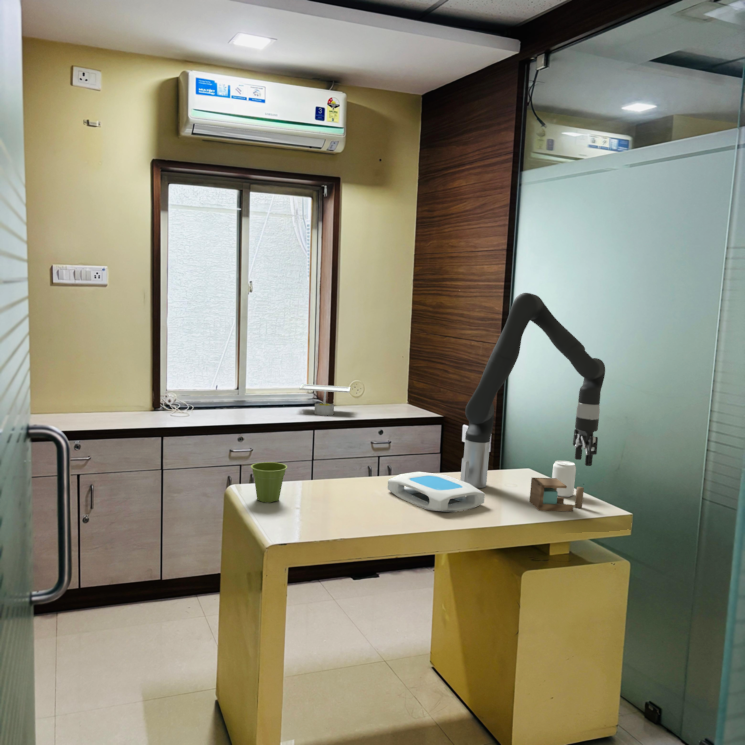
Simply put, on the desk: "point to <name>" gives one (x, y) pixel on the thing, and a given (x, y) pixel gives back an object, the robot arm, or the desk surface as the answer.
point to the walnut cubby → (538, 494)
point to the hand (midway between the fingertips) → (583, 462)
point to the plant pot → (268, 480)
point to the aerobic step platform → (436, 491)
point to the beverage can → (565, 477)
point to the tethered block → (551, 494)
